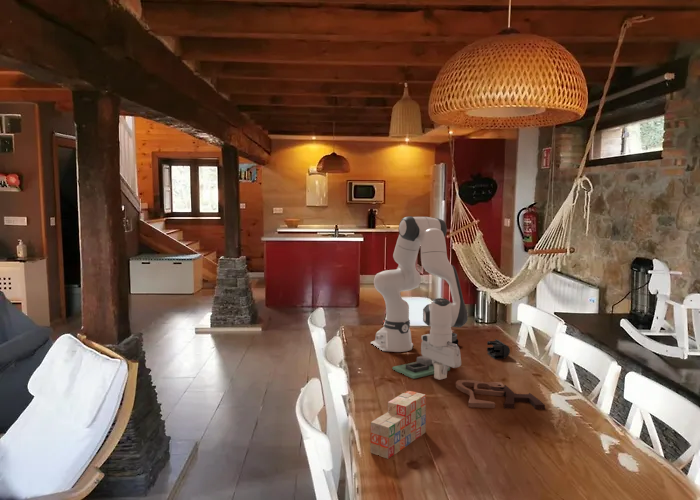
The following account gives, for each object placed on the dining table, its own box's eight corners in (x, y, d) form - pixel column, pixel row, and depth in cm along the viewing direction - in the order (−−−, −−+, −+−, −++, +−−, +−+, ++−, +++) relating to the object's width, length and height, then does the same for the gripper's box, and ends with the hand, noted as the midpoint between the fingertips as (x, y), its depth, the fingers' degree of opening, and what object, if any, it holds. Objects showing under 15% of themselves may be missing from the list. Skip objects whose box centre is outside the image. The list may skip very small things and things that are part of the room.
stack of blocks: (388, 460, 142) (388, 416, 141) (370, 453, 146) (369, 411, 145) (426, 432, 159) (426, 393, 158) (408, 427, 163) (408, 389, 162)
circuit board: (392, 369, 220) (392, 360, 219) (428, 361, 230) (428, 353, 230) (413, 378, 208) (413, 369, 207) (450, 370, 218) (450, 361, 218)
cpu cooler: (460, 335, 255) (442, 337, 252) (460, 346, 255) (442, 348, 252) (450, 330, 265) (432, 332, 262) (450, 341, 265) (432, 343, 262)
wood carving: (545, 410, 176) (528, 386, 200) (545, 405, 176) (528, 381, 199) (461, 408, 179) (454, 384, 202) (462, 402, 179) (455, 379, 202)
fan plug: (434, 377, 209) (434, 363, 209) (442, 375, 212) (442, 361, 211) (439, 379, 207) (439, 365, 206) (447, 377, 209) (447, 363, 209)
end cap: (510, 359, 234) (510, 344, 234) (495, 359, 233) (495, 345, 233) (501, 352, 244) (501, 338, 243) (486, 353, 243) (486, 339, 243)
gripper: (465, 343, 201) (464, 378, 202) (430, 333, 218) (429, 364, 219) (453, 346, 197) (452, 381, 198) (418, 335, 214) (418, 367, 216)
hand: (440, 372), depth 209 cm, fingers closed on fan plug, 3 cm apart
